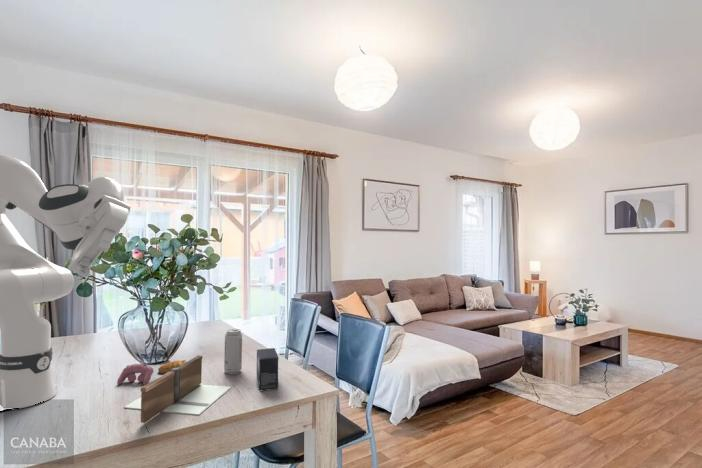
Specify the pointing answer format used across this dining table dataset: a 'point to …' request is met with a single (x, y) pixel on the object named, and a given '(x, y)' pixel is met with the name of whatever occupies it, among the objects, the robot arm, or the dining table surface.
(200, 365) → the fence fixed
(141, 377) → the video game controller
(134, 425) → the dining table surface
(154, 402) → the fence panel
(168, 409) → the card
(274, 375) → the small box
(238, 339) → the energy drink can
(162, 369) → the pastry
